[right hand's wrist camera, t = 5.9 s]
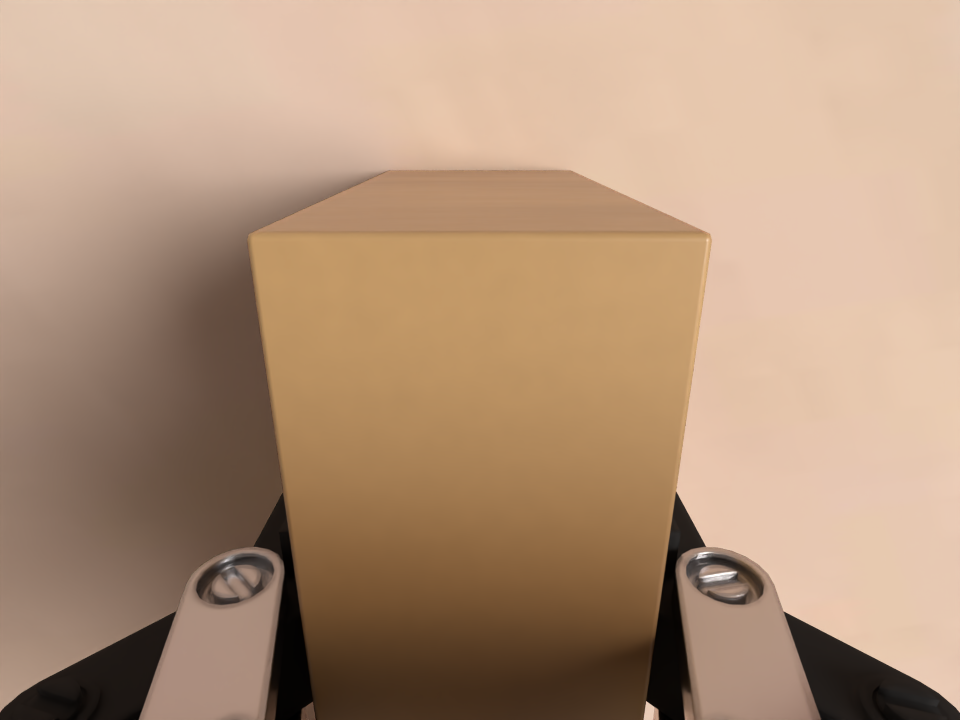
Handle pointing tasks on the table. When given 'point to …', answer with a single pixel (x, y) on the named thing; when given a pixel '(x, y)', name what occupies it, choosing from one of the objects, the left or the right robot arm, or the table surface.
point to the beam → (479, 438)
